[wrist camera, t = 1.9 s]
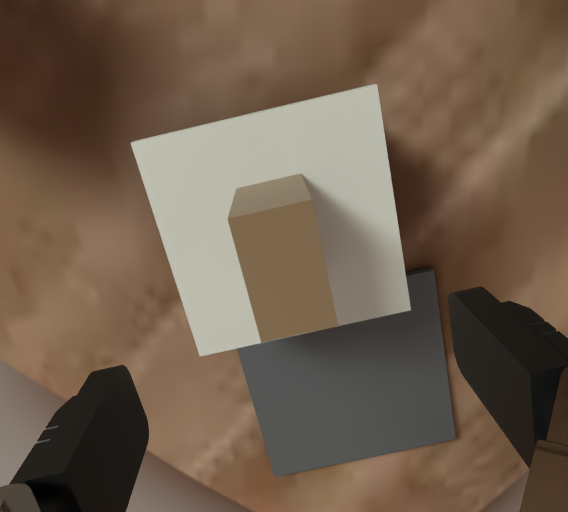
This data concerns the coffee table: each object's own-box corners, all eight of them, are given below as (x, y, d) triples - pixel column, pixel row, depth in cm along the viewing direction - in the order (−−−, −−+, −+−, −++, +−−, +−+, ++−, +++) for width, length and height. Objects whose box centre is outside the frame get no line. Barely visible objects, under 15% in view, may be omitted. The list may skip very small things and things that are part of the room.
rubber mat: (431, 267, 32) (434, 270, 32) (453, 433, 37) (456, 439, 36) (228, 312, 33) (227, 315, 32) (274, 470, 37) (274, 476, 37)
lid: (372, 84, 22) (415, 82, 15) (405, 301, 25) (451, 370, 19) (136, 140, 22) (86, 159, 16) (202, 346, 26) (182, 427, 19)
